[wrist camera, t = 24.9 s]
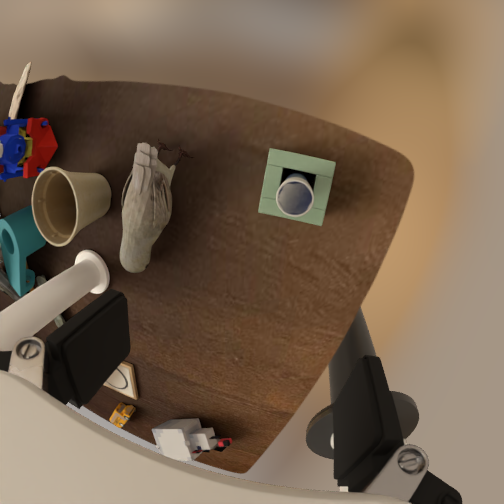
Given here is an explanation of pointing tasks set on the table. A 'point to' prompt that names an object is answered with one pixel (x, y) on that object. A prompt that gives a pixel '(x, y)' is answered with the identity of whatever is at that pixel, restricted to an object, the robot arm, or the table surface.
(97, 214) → the flower pot
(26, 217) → the teal mechanical bracket
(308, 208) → the marker
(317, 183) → the pen stand
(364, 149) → the table surface
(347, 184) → the table surface
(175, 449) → the toy
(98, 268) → the candle
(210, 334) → the table surface
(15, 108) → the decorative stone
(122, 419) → the toy bus
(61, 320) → the stone
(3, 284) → the toy gun
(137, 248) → the decorative bird
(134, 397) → the framed picture
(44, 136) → the toy train
